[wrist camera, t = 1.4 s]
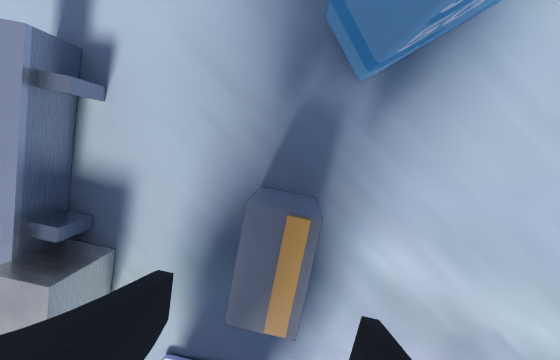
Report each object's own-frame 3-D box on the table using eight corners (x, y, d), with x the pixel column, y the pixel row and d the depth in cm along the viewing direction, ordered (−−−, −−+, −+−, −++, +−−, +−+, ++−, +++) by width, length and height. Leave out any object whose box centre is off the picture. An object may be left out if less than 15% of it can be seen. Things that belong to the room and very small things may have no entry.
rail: (108, 308, 21) (42, 365, 16) (31, 291, 21) (-60, 341, 16) (136, 59, 18) (69, 23, 13) (48, 42, 19) (-54, -1, 13)
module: (295, 287, 20) (295, 343, 14) (243, 276, 20) (222, 327, 14) (315, 197, 19) (323, 219, 13) (260, 186, 19) (245, 203, 14)
